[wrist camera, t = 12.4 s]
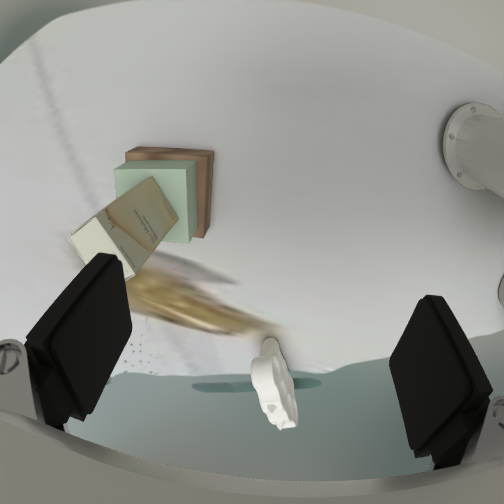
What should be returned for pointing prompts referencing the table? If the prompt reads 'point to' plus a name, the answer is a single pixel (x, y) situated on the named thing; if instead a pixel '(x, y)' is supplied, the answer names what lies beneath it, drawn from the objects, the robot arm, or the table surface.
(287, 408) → the white brass knuckles
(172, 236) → the tower top block
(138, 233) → the skincare box
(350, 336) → the table surface
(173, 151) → the tower base block
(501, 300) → the cylinder vase
